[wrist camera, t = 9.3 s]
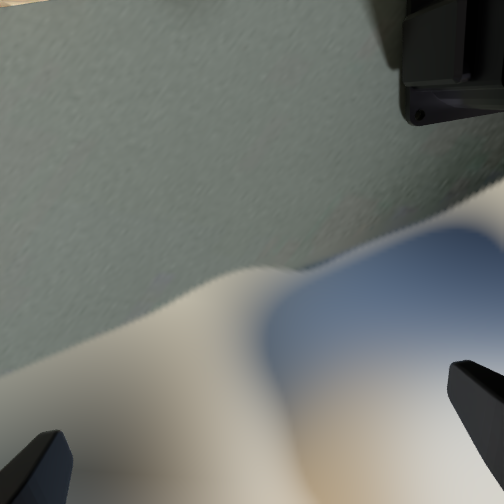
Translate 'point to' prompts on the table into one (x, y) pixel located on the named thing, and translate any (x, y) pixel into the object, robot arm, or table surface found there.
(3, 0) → the socket block
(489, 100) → the robot arm
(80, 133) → the table surface
